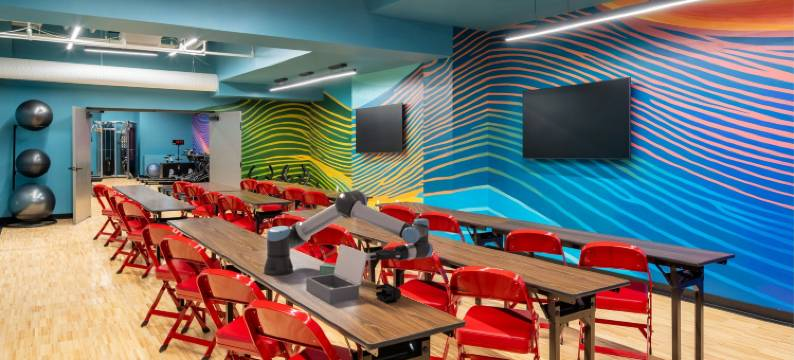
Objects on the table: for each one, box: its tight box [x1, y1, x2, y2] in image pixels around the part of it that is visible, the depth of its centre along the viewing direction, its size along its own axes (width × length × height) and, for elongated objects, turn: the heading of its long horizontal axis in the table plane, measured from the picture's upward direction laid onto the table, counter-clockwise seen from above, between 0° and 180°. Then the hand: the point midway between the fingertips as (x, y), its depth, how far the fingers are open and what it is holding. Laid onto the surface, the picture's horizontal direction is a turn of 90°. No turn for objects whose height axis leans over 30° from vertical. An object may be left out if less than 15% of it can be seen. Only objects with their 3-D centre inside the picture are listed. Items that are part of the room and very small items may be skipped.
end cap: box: [375, 282, 402, 305], centre depth 216 cm, size 10×7×7 cm
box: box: [318, 262, 347, 280], centre depth 250 cm, size 7×14×8 cm, turn 75°
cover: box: [334, 243, 369, 286], centre depth 228 cm, size 24×14×1 cm
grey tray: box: [305, 274, 360, 305], centre depth 223 cm, size 24×14×6 cm, turn 34°
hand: (363, 257), depth 230 cm, fingers closed
